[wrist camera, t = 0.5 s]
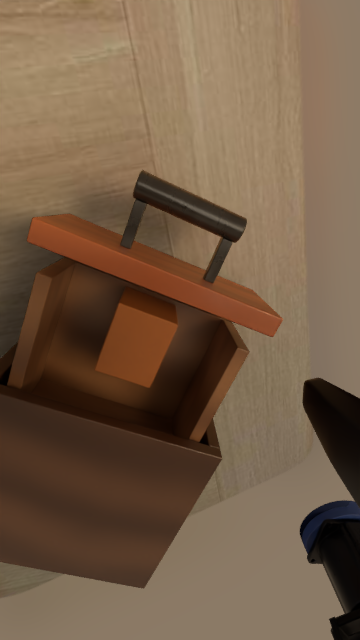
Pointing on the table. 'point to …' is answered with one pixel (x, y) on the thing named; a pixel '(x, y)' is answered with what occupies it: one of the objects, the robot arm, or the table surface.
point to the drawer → (101, 302)
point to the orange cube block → (137, 338)
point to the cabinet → (92, 487)
